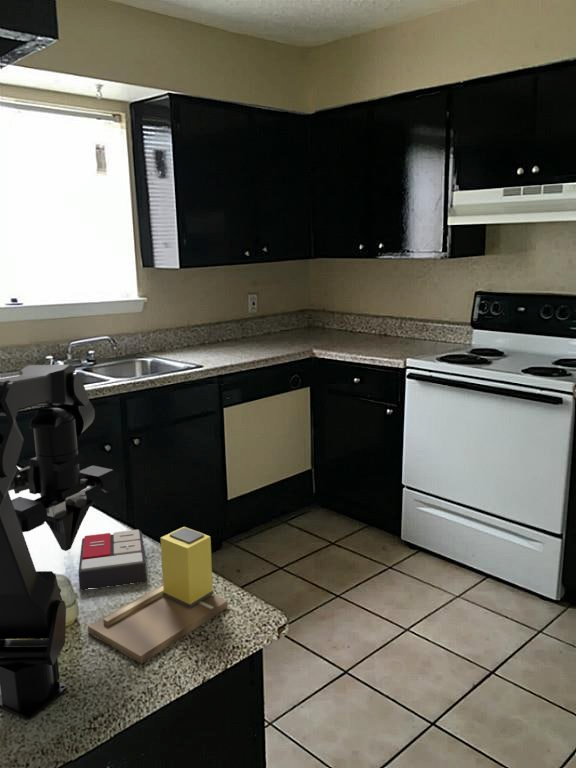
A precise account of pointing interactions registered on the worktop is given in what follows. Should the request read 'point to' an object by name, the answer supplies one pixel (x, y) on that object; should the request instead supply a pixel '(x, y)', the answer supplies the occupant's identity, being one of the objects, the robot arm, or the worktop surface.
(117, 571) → the red and grey box
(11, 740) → the worktop surface
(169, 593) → the yellow pillar grey top
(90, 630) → the subfloor panel
